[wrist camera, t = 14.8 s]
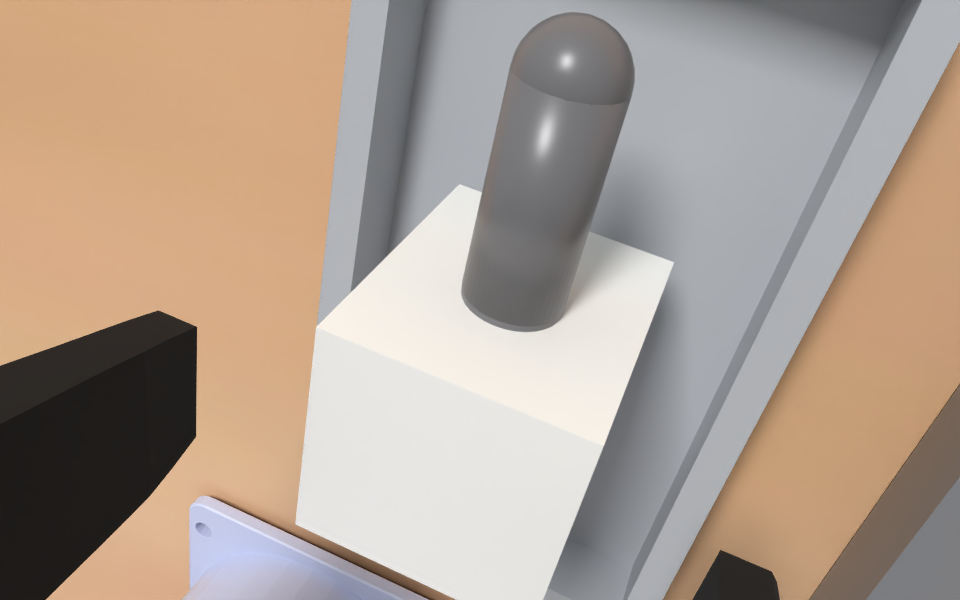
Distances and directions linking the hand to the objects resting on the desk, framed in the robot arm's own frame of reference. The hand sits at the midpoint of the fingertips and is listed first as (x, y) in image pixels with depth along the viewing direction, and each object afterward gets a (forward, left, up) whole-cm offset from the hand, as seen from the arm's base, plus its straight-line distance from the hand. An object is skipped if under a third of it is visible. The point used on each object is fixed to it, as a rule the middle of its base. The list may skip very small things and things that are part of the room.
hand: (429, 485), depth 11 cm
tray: (0, 0, -6) cm, 6 cm away
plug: (+2, 0, -6) cm, 6 cm away
